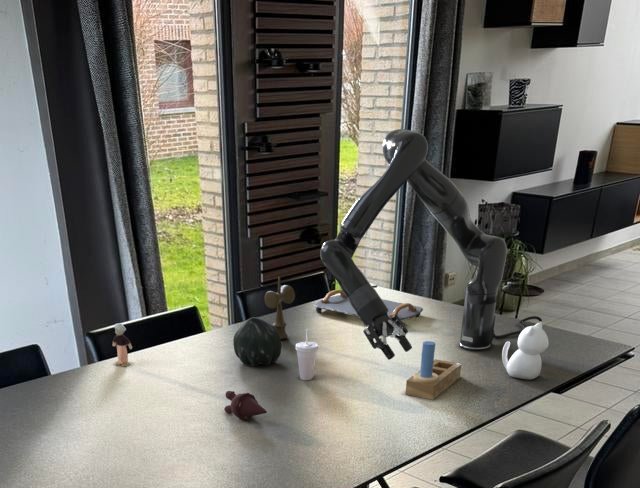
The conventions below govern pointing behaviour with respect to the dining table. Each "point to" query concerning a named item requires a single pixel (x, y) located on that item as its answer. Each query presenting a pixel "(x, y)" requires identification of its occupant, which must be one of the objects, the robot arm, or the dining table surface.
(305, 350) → the smoothie
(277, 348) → the squash
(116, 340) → the grandmother figurine
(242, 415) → the red gnome figurine
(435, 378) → the peg
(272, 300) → the kendama
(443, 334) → the dining table surface
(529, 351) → the cat figurine
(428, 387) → the rack
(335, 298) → the serving tray
